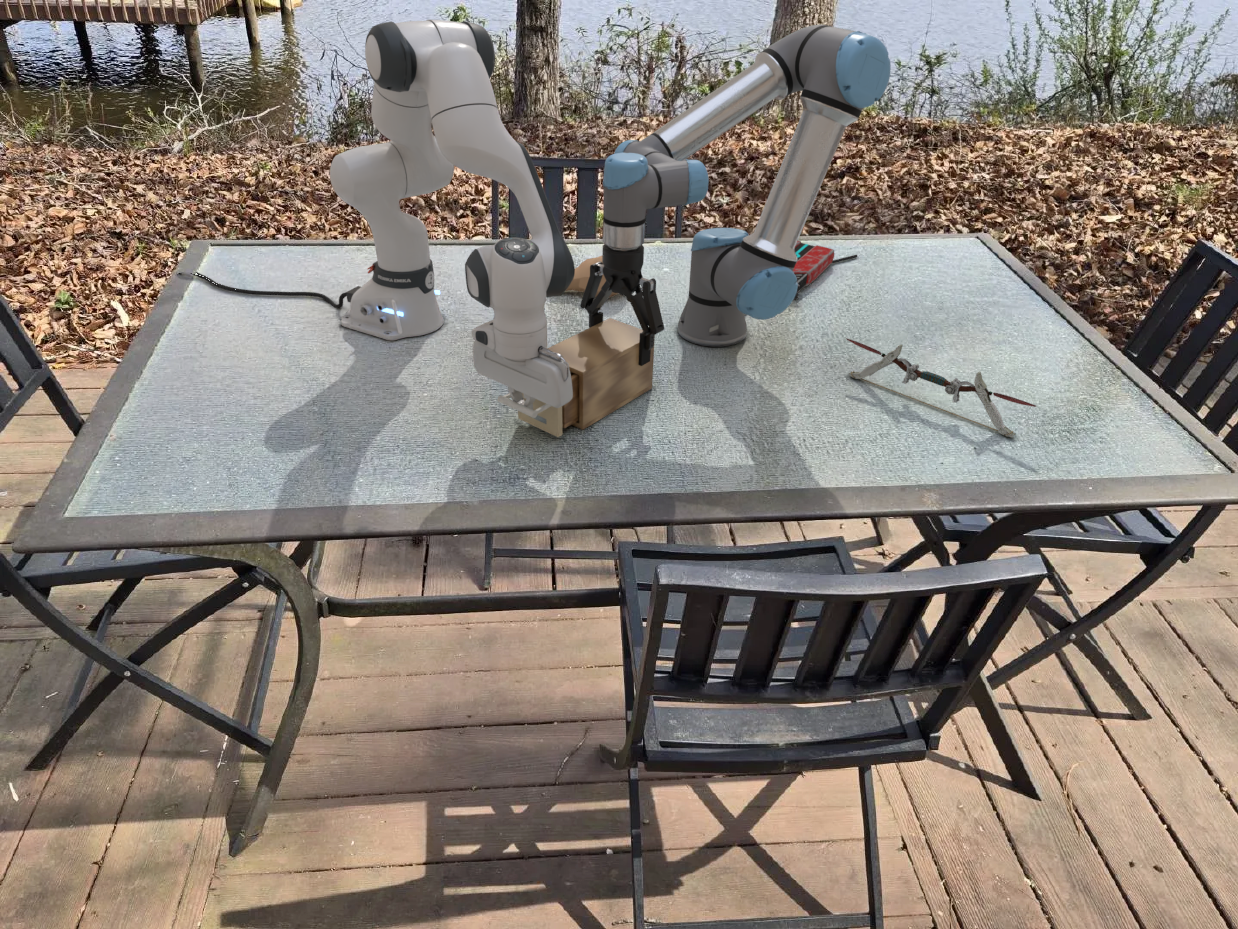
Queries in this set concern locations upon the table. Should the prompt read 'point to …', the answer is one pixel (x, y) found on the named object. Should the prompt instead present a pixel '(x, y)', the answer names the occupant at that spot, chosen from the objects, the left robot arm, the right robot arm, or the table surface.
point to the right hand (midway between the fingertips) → (620, 353)
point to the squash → (586, 277)
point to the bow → (950, 387)
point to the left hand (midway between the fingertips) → (523, 410)
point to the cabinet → (606, 368)
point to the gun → (810, 263)
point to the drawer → (548, 411)
